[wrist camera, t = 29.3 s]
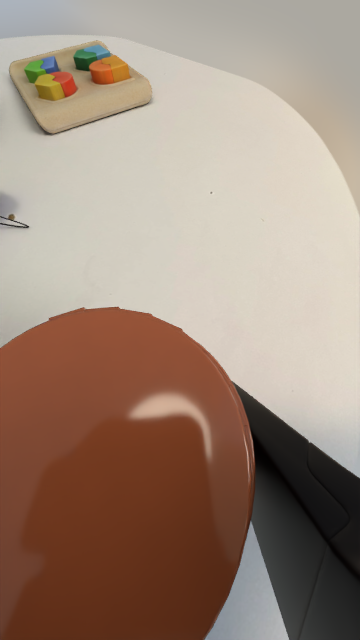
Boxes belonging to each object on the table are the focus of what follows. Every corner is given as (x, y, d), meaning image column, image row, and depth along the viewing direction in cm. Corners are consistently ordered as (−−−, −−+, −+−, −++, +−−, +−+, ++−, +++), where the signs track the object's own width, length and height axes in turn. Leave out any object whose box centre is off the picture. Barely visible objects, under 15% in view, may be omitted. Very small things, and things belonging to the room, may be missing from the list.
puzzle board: (108, 55, 41) (101, 25, 38) (156, 102, 35) (153, 70, 31) (12, 80, 38) (-4, 50, 35) (45, 138, 31) (29, 107, 28)
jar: (222, 469, 13) (375, 658, 3) (118, 509, 12) (-231, 979, 2) (188, 369, 15) (199, 260, 5) (100, 397, 14) (-97, 339, 4)
